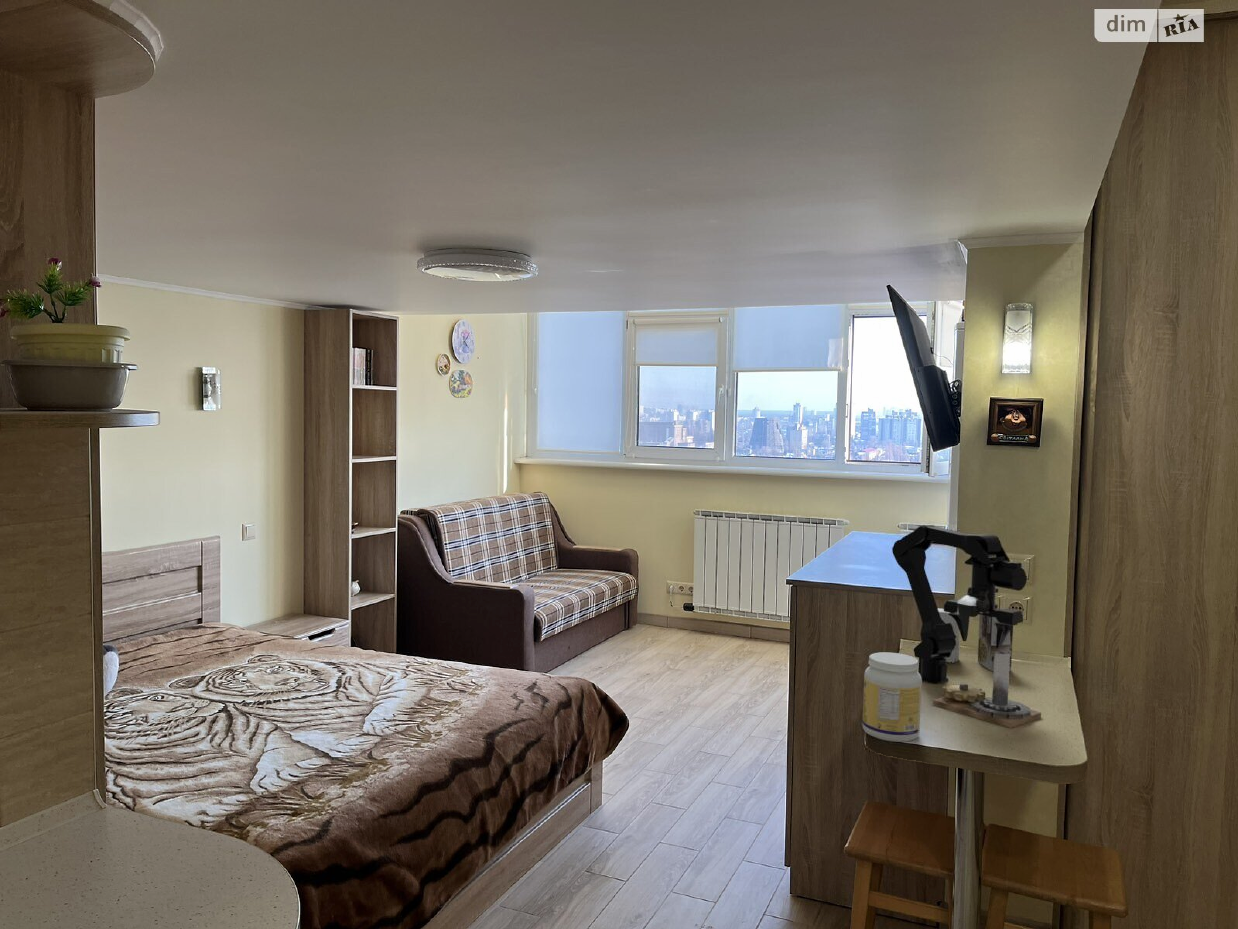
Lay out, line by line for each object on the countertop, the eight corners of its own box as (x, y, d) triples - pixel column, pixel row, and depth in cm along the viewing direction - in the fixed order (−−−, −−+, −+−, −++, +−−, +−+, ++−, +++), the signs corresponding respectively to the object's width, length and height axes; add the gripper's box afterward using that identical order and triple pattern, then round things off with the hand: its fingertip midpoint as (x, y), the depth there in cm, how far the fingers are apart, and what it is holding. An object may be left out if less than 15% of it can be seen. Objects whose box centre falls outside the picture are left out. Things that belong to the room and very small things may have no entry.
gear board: (929, 703, 216) (930, 684, 216) (960, 694, 224) (961, 675, 224) (1010, 728, 199) (1011, 706, 199) (1040, 717, 208) (1041, 697, 207)
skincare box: (959, 659, 259) (961, 610, 259) (953, 664, 254) (956, 613, 254) (929, 655, 264) (931, 606, 264) (924, 659, 259) (926, 609, 259)
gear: (980, 710, 208) (982, 654, 207) (986, 703, 214) (989, 648, 213) (1013, 717, 204) (1015, 659, 203) (1018, 709, 210) (1021, 653, 209)
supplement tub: (865, 721, 202) (868, 648, 201) (921, 729, 197) (924, 655, 196) (858, 738, 190) (861, 661, 190) (917, 747, 186) (920, 668, 185)
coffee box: (1012, 671, 248) (1014, 615, 247) (989, 670, 248) (991, 614, 247) (998, 663, 257) (1001, 608, 256) (976, 662, 257) (979, 607, 257)
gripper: (932, 581, 226) (930, 641, 226) (1001, 593, 211) (998, 657, 211) (956, 577, 232) (954, 636, 233) (1025, 588, 217) (1022, 651, 218)
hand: (981, 644), depth 224 cm, fingers open, 9 cm apart
